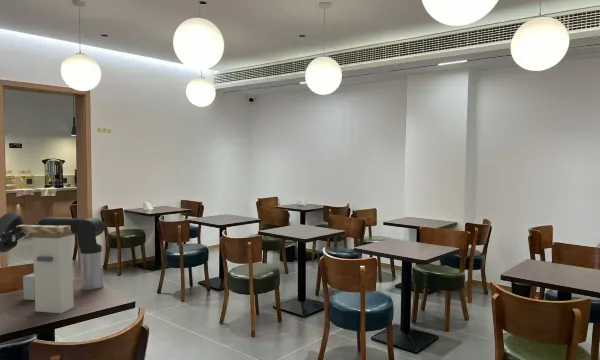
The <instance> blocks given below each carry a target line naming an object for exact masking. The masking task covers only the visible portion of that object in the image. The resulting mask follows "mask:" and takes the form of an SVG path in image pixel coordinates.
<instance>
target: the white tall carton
mask: <svg viewBox="0 0 600 360" xmlns="http://www.w3.org/2000/svg"><path fill="white" fill-rule="evenodd" d="M72 235H73V234H72V231H71V232H68V233H64V234H51V233H32V234H31V236H30V237H31V238H32V255H33V256H32V257H33V259H32V261H33V273H34V285H35V300H34V301H35V303H34V304H35V305H34V306H35V308H34V309H35V312H38V313H39V312H41V313H51V314H52V313H53V314H54V313H55V314H63V313H65V312H67V311H69V310H71V309H73V308H74V307H75V305H74V303H75V302H74V301H75V299H74V279H73V278H74V277H73V276H74V275H73V256H72V255H73V251H72V247H73V246H72Z"/></svg>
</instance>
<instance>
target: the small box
mask: <svg viewBox="0 0 600 360" xmlns="http://www.w3.org/2000/svg"><path fill="white" fill-rule="evenodd" d="M22 283H23V285H22V287H23V300H27V301H28V300H29V301H30V300H31V301H35V285H34V272H31V273H30V274H27V275H23V276H22Z"/></svg>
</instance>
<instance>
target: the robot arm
mask: <svg viewBox="0 0 600 360" xmlns="http://www.w3.org/2000/svg"><path fill="white" fill-rule="evenodd" d="M19 225H26V223H25V221H24V218H23V216H22V215H21V213H20V212H19V211H10V212H8V213H7V212H6V213H5V214H3V215H2V216H1V217H0V257H1V256H3V255H5V254H7V253H8V252H10V251H11V250H13V249H14V248H15V247H17V246H18V242H19V241H20V240H22V239H24V238H25V239H26V238H28V237H29V236H30V237H31V234H32V232H21V231H23V229H22V228H21V226H19ZM32 225H47V226H59V225H62V226H71V231H72V235H76V236H77V245H78V247H79V250H80V253H79V254H80V272H81V274H80V276H81V279H80V280H81V290H86V291H88V290H89V291H90V290H91V291H92V290H97V289H98V290H99V289H100V288H104V267H103V251H102V249H103V247H102V245H101V244H99V243H98V242H97V237H98V236H100V235H102V234H103V233H104V231H105V229H106V224H105V222H104V221H103V220H102V219H101V218H100V217H99V218H98V217H88V218H72V217H59V216H58V217H57V216H45V217H43V218H41V219H39V220H38V221H36V222H35V223H33V224H32ZM16 226H18V227H17V228H16Z"/></svg>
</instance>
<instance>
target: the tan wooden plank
mask: <svg viewBox="0 0 600 360" xmlns="http://www.w3.org/2000/svg"><path fill="white" fill-rule="evenodd" d="M19 226H21V228H22V229H23V231H21V232H32V233H51V234H64V233H68V232H71V226H62V225H59V226H47V225H33V224H25V225H19ZM17 227H18V226H16V228H17Z"/></svg>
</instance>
